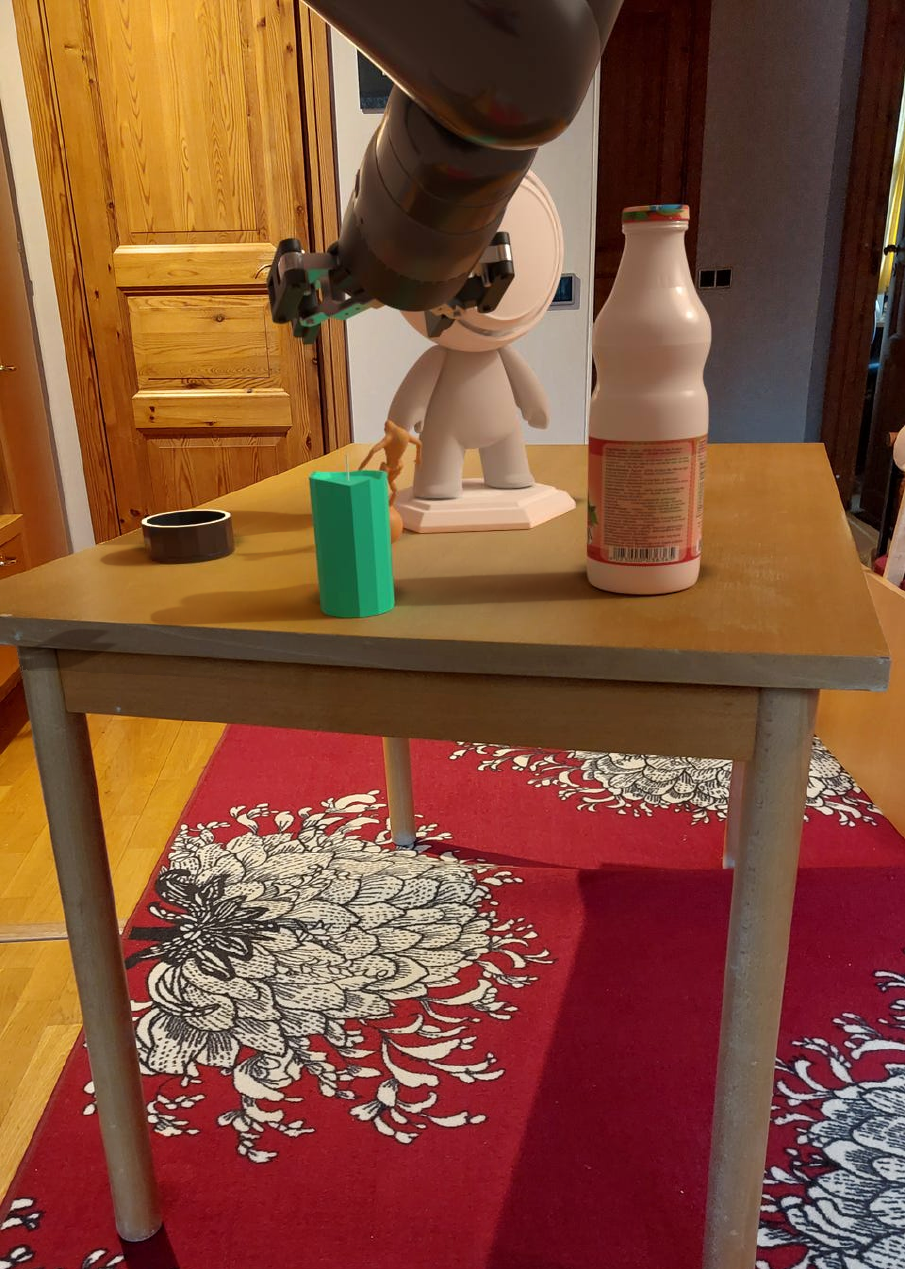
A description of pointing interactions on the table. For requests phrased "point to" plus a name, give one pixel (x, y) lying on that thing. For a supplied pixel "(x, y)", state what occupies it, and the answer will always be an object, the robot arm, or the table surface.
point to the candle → (352, 542)
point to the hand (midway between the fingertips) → (369, 326)
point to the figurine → (394, 466)
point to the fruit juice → (648, 414)
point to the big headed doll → (485, 393)
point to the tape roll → (188, 536)
